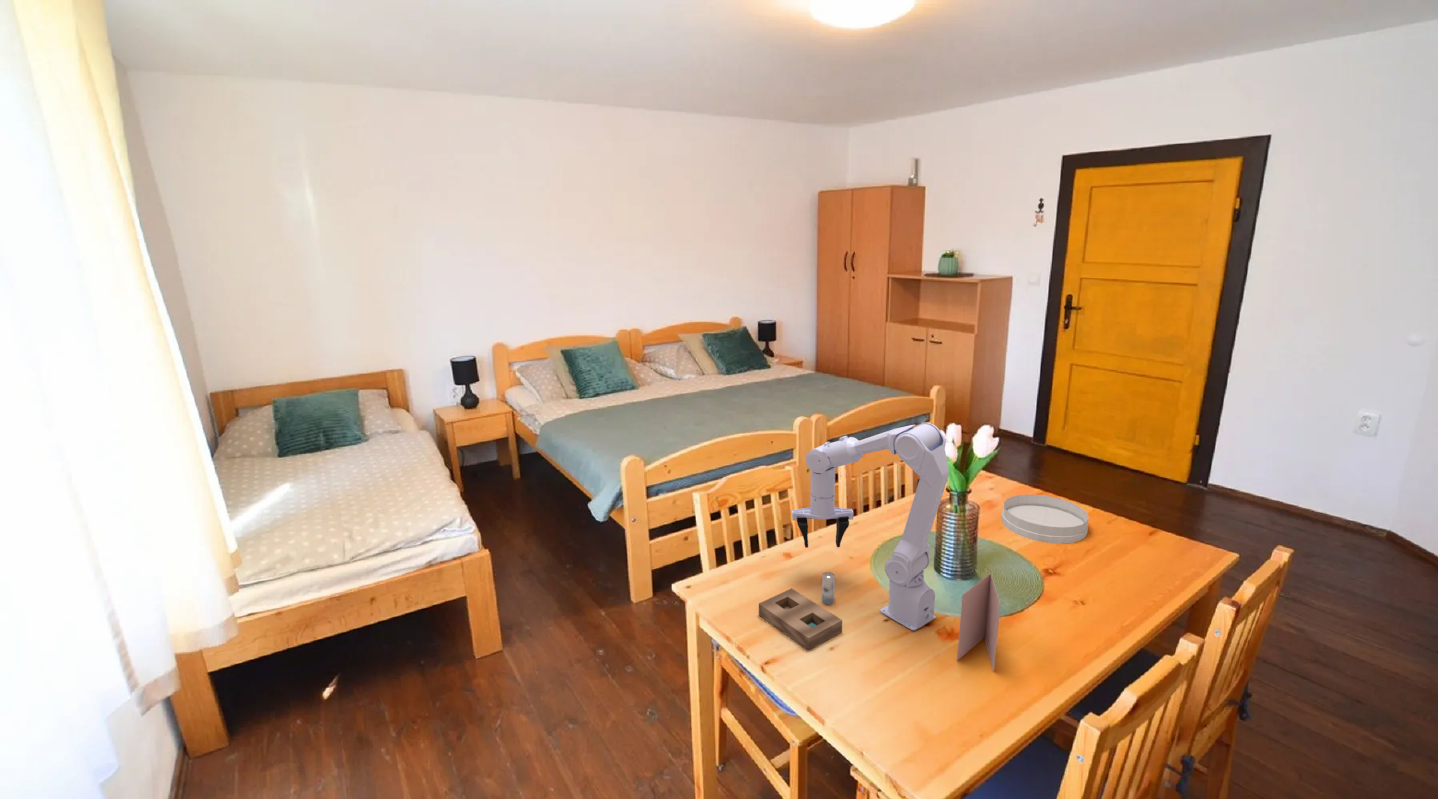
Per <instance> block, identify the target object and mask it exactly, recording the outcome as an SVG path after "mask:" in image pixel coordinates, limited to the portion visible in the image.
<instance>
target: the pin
mask: <svg viewBox="0 0 1438 799" xmlns="http://www.w3.org/2000/svg"><path fill="white" fill-rule="evenodd" d="M835 578H836V575H835V573H833V572H831V571H825V572H823V573H822V578H821V579H822V580H821V581H822V582H821V583H822V584H821V587H822V588H821V589H822V590H821V603H822V604H823V605H825V606H833V605H835V588H836V587H835V586H836V585H835V584H836V583H835V581H836V579H835Z"/></svg>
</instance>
